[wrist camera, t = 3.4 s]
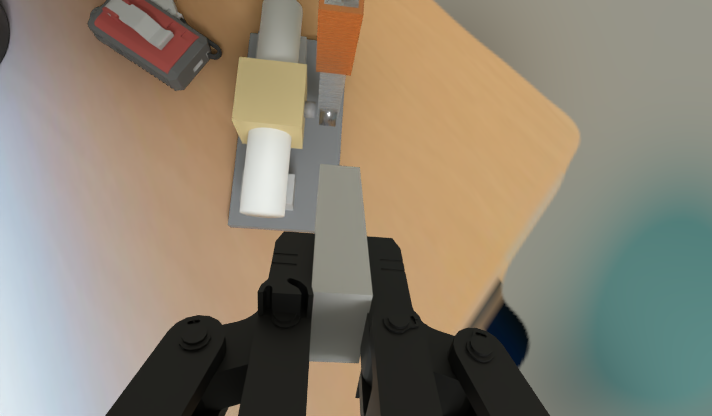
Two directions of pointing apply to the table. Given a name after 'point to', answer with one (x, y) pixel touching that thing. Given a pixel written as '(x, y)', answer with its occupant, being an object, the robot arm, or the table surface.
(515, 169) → the table surface
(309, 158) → the valve rig
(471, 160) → the table surface
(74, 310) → the table surface
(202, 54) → the walkie-talkie
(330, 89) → the valve lever
